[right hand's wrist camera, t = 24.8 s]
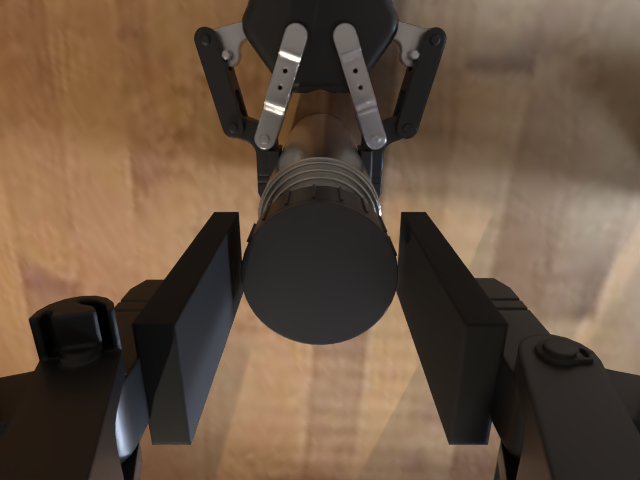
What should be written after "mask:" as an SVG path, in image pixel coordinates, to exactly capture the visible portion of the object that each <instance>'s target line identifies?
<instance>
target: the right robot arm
mask: <svg viewBox="0 0 640 480" xmlns="http://www.w3.org/2000/svg"><path fill="white" fill-rule="evenodd" d="M241 263H242V255H241V240H240V225H239V212H214V213H213V215H212V216H211V217H210V219H209V220H208V221H207V223H206V224H205V225H204V227H203V228H202V229H201V231H200V232H199V233H198V235H197V236H196V238H195V239H194V240H193V242H192V243H191V244H190V246H189V247H188V248H187V250H186V251H185V252H184V254H183V255H182V256H181V258H180V259H179V261H178V262H177V263H176V265H175V266H174V267H173V269H172V270H171V271H170V273H169V274H168V275H167V277H166V278H165V279H164V280H145V281H144V282H142V283H140V284H139V285H137V286H135V287H133V288H132V289H130V290H129V291H128V293H127V294H126V295H125V296H124V297H123V298H122V300H121V302H119V303H118V304H117V305H116V307H115V308H114V303H113V302H112V301H111V300H109V299H108V298H105V297H100V296H79V297H74V298H68V299H64V300H61V301H58V302H55V303H52V304H49V305H48V306H46V307H44V308H42V309H40V310H38V311H37V312H36V313H35V314H33V315H32V316H31V317H30V318H29V322H30V326H31V330H32V334H33V337H34V341H35V345H36V349H37V352H38V356H39V360H40V361H39V363H38V365H37V367H36V369H35V371H32V372H28V373H23V374H17V375H12V376H7V377H1V378H0V480H140V476H141V468H142V454H141V448H140V443H139V441H140V439H141V437H142V435H143V433H144V430H145V428H146V426H147V424H148V423H149V429H150V434H151V440H152V445H191V443H192V440H193V437H194V434H195V431H196V428H197V425H198V422H199V419H200V416H201V414H202V411H203V408H204V405H205V402H206V399H207V396H208V393H209V390H210V387H211V385H212V382H213V379H214V376H215V373H216V370H217V367H218V364H219V361H220V358H221V355H222V353H223V350H224V347H225V344H226V341H227V338H228V335H229V332H230V329H231V326H232V324H233V321H234V318H235V315H236V312H237V309H238V306H239V303H240V300H241V297H242V294H243V292H244V291H243V286H242V281H241V267H242V266H241ZM396 292H397V294H398V297H399V300H400V303H401V306H402V309H403V312H404V315H405V318H406V321H407V324H408V326H409V329H410V332H411V335H412V338H413V341H414V344H415V347H416V350H417V353H418V355H419V358H420V361H421V364H422V367H423V370H424V373H425V376H426V379H427V382H428V385H429V387H430V390H431V393H432V396H433V399H434V402H435V405H436V408H437V411H438V414H439V416H440V419H441V422H442V425H443V428H444V431H445V434H446V437H447V440H448V443H449V445H488V440H489V434H490V429H491V423H492V422H493V424H494V426H495V428H496V430H497V432H498V434H499V436H500V438H501V443H500V448H499V453H498V459H497V464H496V470H495V475H494V480H640V376H639V375H634V374H629V373H623V372H618V371H613V370H609V369H605V368H604V366H603V364H602V362H601V360H600V359H599V358H598V357H597V356H596V355H595V353H594V352H593V351H591V350H590V349H588V348H587V347H585V346H584V345H582V344H580V343H578V342H575V341H573V340H570V339H568V338H565V337H560V336H556V335H551V334H550V333H549V332H548V331H547V330H546V329H545V328H544V326H543V325H542V324H541V323H540V322H539V321H538V319H537V318H536V317H535V316H534V315H533V314H532V313H531V311H530V310H527V307H526V306H525V305H524V303H523V302H522V301H519V298H518V296H517V295H516V294H515V293H514V292H513V291H512V290H511V288H510V287H508V286H506V285H504V284H503V283H501V282H499V281H497V280H496V279H494V278H474V277H473V275H472V274H471V273H470V271H469V270H468V269H467V267H466V266H465V265H464V263H463V262H462V261H461V259H460V258H459V256H458V255H457V254H456V252H455V251H454V250H453V248H452V247H451V246H450V244H449V243H448V242H447V240H446V239H445V238H444V236H443V235H442V233H441V232H440V231H439V229H438V228H437V227H436V225H435V224H434V223H433V221H432V220H431V219H430V217H429V216H428V215H427V213H426V212H401V225H400V240H399V255H398V282H397V288H396Z"/></svg>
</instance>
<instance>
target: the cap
mask: <svg viewBox="0 0 640 480" xmlns="http://www.w3.org/2000/svg"><path fill="white" fill-rule="evenodd" d="M247 242H249V243H248V245H247V248H246V250H245V253H244V256H243V260H242V263H241V266H242V267H241V281H242V286H243V291H244V294H245V297H246V299H247V301H248V303H249V305H250V307H251V309H252V310H253V312H254V313H255V315H256V316H257V317H258V318H259V319H260V320H261V321H262V322H263V323H264V324H265V325H266V326H267V327H268V328H270V329H271V330H273V331H274V332H276V333H277V334H279V335H281V336H283V337H285V338H288V339H290V340H293V341H296V342H300V343H305V344H312V345H326V344H334V343H339V342H343V341H346V340H349V339H352V338H354V337H356V336H358V335H360V334H362V333H364V332H365V331H367V330H368V329H369V328H371V327H372V326H373V325H375V324H376V323H377V322H378V321H379V320H380V319H381V317H382V316H383V315H384V313H385V312H386V311H387V309H388V307H389V306H390V304H391V302H392V300H393V297H394V295H395V292H396V288H397V282H398V265H397V259H396V256H397V253H396V251H395V248H394V246H393V244H392V241H391V239H390V236H388V235H387V229H386V227H385V225H384V222H383V220H382V217H381V215H377V213H376V212H375V210H374V209H373V208H372V207H371V206H370V205H369V204H368V203H367V202H365V199H364V198H363V197H362V198H360V197H358V196H357V195H355V194H353V193H351V192H349V191H347V190H344V189H342V188H341V187H338V188H337V187H332V186H321V185H315V184H313V186H307V187H303V188H298V189H296V190H293V191H290V190H289V191H288V192H287V193H286V194H284V195H282V196H281V197H279V198H278V199H277V200H275V201H274V202H273V203H272V204H271V205H270V204H268V205H267V207H266V209H265V211H264V212H263V213H262V215H261V216H260V218H259V220H258V221H257V224H255V223H254V225H253V228H252V230H251V232H250V235H249V237H248V239H247Z"/></svg>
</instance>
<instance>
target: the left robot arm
mask: <svg viewBox="0 0 640 480" xmlns="http://www.w3.org/2000/svg"><path fill="white" fill-rule="evenodd" d="M247 40H248V41H249V42H250V44H251V45H252V46H253V48H254V49H255V51H256V52H257V53H258V55H259V56H260V58H261V59H262V60H263V62H264V63H265V65H266V66H267V67H268V69H269V70H270V72H271V73H272V77H271V81H270V84H269V87H268V91H267V94H266V97H265V101H264V106H263V110H262V114H261V117H260V120H256V119H253V118H251V117H248V114H247V111H246V107H245V104H244V101H243V97H242V94H241V91H240V87H239V84H238V81H237V77H236V74H235V71H234V67H235V66H237V65H238V64H239V63H240V62H241V59H242V54H241V48H242V45H243V44H244V43H245V42H246V41H247ZM392 40H393V41H395V42H396V43H397V44H398V46H399V60H400V62H401V64H402V65H404V66H406V67H407V69H406V73H405V76H404V79H403V83H402V86H401V90H400V93H399V96H398V100H397V103H396V106H395V110H394V113H393V116H392V117H390V118H387V119H384V120H382V121H381V118H380V114H379V111H378V108H377V102H376V98H375V95H374V92H373V88H372V85H371V82H370V78H369V75H368V74H369V73H370V71H371V70H372V68H373V67H374V66H375V64H376V63H377V61H378V60H379V59H380V57H381V56H382V54H383V53H384V52H385V50H386V49H387V47H388V46H389V45H390V43H391V42H392ZM194 41H195V44H196V47H197V50H198V54H199V57H200V60H201V63H202V66H203V69H204V72H205V75H206V78H207V82H208V85H209V88H210V91H211V94H212V97H213V100H214V103H215V106H216V110H217V113H218V116H219V119H220V122H221V125H222V128H223V131H224V133H225V134H226V135H227V136H228V137H230V138H238V139H241V140H243V141H246V142H249V143H250V144H251V145H253V147H254V148H255V150H256V155H257V175H258V193H259V195H260V197H262V194H263V192H264V190H265V187H266V185H267V183H268V181H269V179H270V177H271V174H272V172H273V170H274V168H275V166H276V164H277V161H278V159H279V157H280V155H281V153H282V145H278V137H279V133H280V130H281V127H282V124H283V121H284V118H285V115H286V112H287V109H288V106H289V103H290V100H291V97H292V94H293V93H308V92H311V91H315V90H318V89H323V90H326V91H330V92H333V93H348V95H349V98H350V101H351V104H352V107H353V110H354V113H355V116H356V119H357V122H358V125H359V128H360V131H361V134H362V137H361V145H358V153H359V156H360V158H361V160H362V162H363V164H364V167H365V169H366V171H367V173H368V175H369V177H370V180H371V182H372V184H373V186H374V188H375V191H376V193H377V195H378V199H379V197H380V195H381V191H382V171H383V153H384V150H385V148H386V147H387V145H389V144H390V143H392V142H394V141H397V140H400V139H403V138H405V139H408V138H412V137H413V136H414V135H415V134H416V133H417V130H418V127H419V124H420V121H421V118H422V115H423V112H424V109H425V105H426V102H427V99H428V96H429V93H430V90H431V87H432V84H433V81H434V77H435V74H436V71H437V68H438V65H439V62H440V59H441V56H442V53H443V49H444V46H445V43H446V34H445V32H444V31H443V30H442V29H440V28H437V27H435V28H430V29H425V28H421V27H418V26H414V25H411V24H407V23H404V22H400V21H398V16H397V13H396V11H395V9H394V7H393V3H392V0H249V2H248V6H247V8H246V10H245V12H244V15H243V19H242V21H241V22H237V23H234V24H230V25H227V26H223V27H220V28H216V29H211V28H208V27H201V28H199V29H198V30H197V31H196V32H195V35H194Z"/></svg>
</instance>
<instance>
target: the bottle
mask: <svg viewBox="0 0 640 480" xmlns="http://www.w3.org/2000/svg"><path fill="white" fill-rule="evenodd" d="M313 184H315V185H321V186H332V187H337V188H338V187H341V188H342V189H344V190H347V191H349V192H351V193H353V194H355V195H357V196H358V197H360V198H362V197H363V198H364V199H365V202H367V203H368V204H369V205H370V206H371V207H372V208H373V209H374V210H375V212H376V213H377V215H381V207H380V202H379V199H378V195H377V193H376V191H375V188H374V186H373V184H372V182H371V180H370V177H369V175H368V173H367V171H366V169H365V167H364V164H363V162H362V160H361V158H360V156H359V153H358V151H357V149H356V147H355V145H354V142H353V140H352V138H351V136H350V134H349V131H348V130H347V128H346V126H345V125H344V124H343V123H342V122H341V121H340V120H338V119H337V118H335V117H333V116H331V115H327V114H313V115H309V116H307V117H305V118H303V119H302V120H300V121H299V122H298V123H297V124H296V125H295V126H294V128H293V129H292V131H291V133H290V135H289V138H288V140H287V142H286V144H285V146H284V148H283V151H282V153H281V155H280V157H279V159H278V161H277V164H276V166H275V168H274V170H273V172H272V174H271V177H270V179H269V181H268V183H267V185H266V187H265V190H264V192H263V194H262V197H261V200H260V204H259V211H258V219H259V218H260V216H261V215H262V213H263V212H264V211H265V209H266V207H267V205H268V204H270V205H271V204H272V203H273V202H274V201H275V200H277V199H278V198H279V197H281V196H282V195H284V194H286V193H287V192H288V191H289V190H290V191H293V190H296V189H298V188H303V187H307V186H313Z"/></svg>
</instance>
